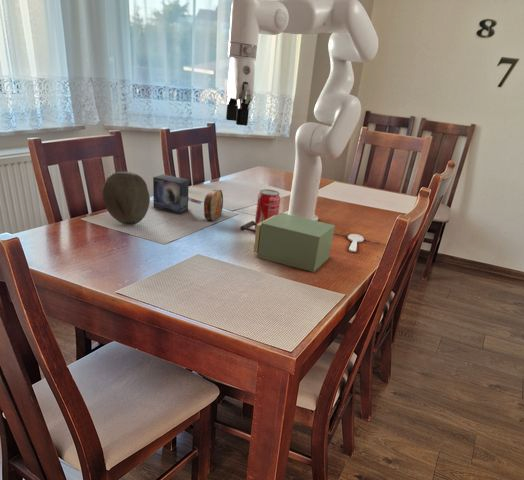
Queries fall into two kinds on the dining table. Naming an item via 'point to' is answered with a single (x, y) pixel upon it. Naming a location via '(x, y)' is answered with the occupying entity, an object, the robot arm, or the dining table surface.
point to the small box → (170, 193)
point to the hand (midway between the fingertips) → (236, 122)
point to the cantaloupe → (126, 197)
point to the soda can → (267, 205)
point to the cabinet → (295, 241)
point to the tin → (213, 204)
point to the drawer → (257, 231)
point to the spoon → (354, 241)
